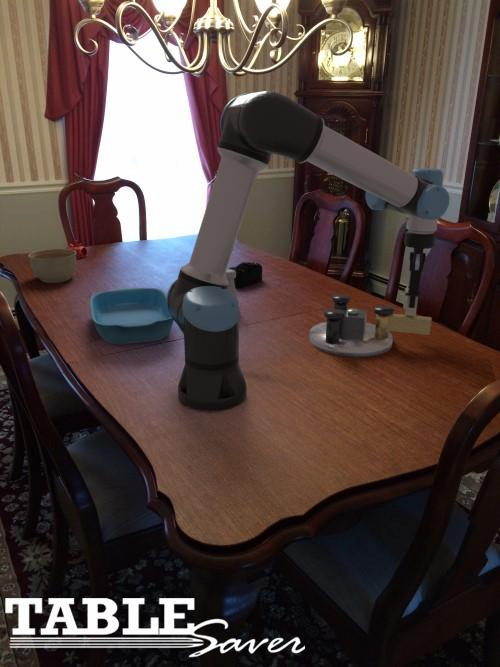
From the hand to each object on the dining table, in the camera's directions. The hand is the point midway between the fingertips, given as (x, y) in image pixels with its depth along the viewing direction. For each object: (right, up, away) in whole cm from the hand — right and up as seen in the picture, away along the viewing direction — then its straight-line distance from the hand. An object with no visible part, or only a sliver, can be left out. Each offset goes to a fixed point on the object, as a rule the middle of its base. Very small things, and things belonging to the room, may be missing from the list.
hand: (410, 317), depth 151 cm
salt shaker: (-50, +3, +22) cm, 55 cm away
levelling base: (-16, -6, -1) cm, 18 cm away
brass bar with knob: (-4, -6, -5) cm, 8 cm away
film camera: (-46, +13, +49) cm, 69 cm away
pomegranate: (-115, +25, +78) cm, 141 cm away
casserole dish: (-77, -3, +8) cm, 78 cm away
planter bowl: (-113, +14, +49) cm, 124 cm away
